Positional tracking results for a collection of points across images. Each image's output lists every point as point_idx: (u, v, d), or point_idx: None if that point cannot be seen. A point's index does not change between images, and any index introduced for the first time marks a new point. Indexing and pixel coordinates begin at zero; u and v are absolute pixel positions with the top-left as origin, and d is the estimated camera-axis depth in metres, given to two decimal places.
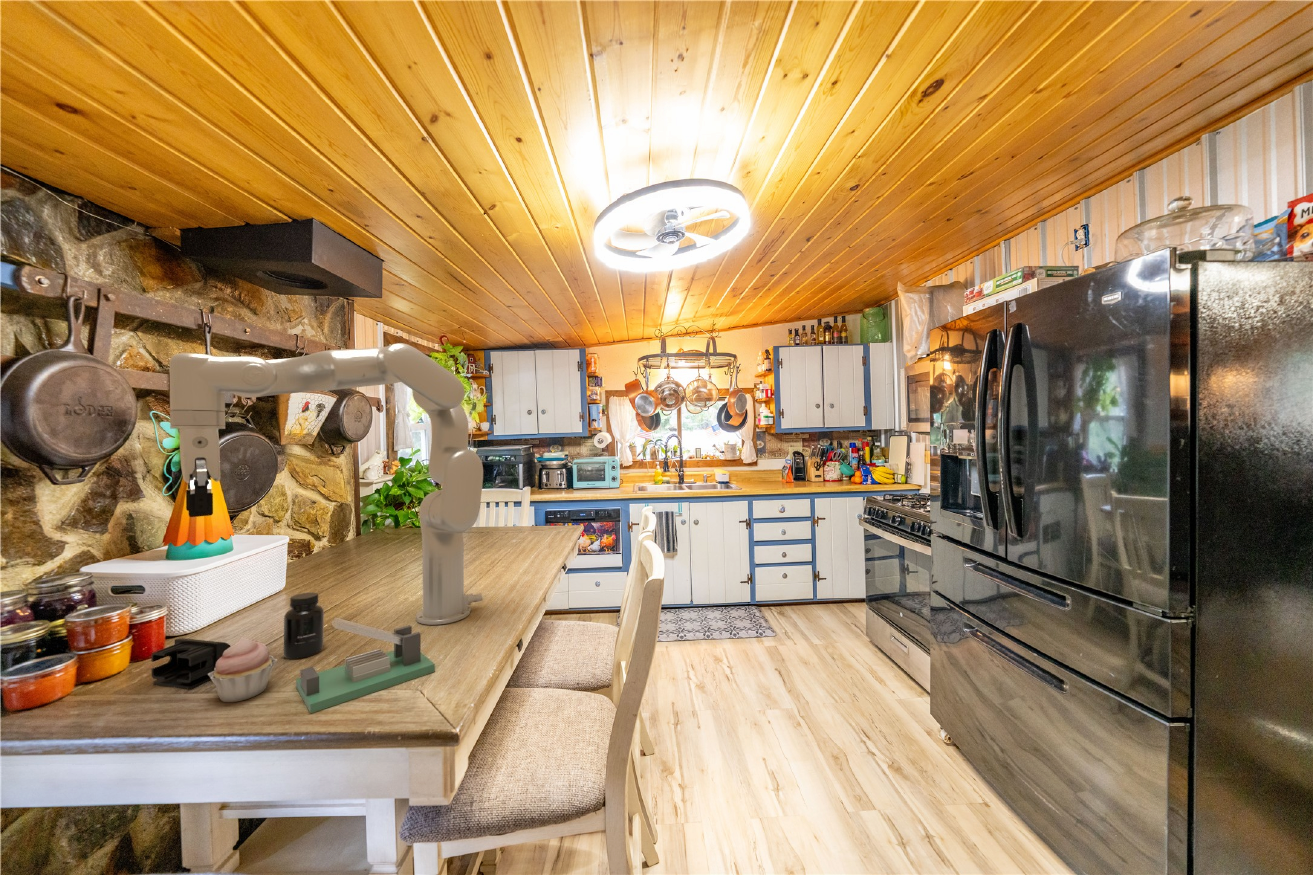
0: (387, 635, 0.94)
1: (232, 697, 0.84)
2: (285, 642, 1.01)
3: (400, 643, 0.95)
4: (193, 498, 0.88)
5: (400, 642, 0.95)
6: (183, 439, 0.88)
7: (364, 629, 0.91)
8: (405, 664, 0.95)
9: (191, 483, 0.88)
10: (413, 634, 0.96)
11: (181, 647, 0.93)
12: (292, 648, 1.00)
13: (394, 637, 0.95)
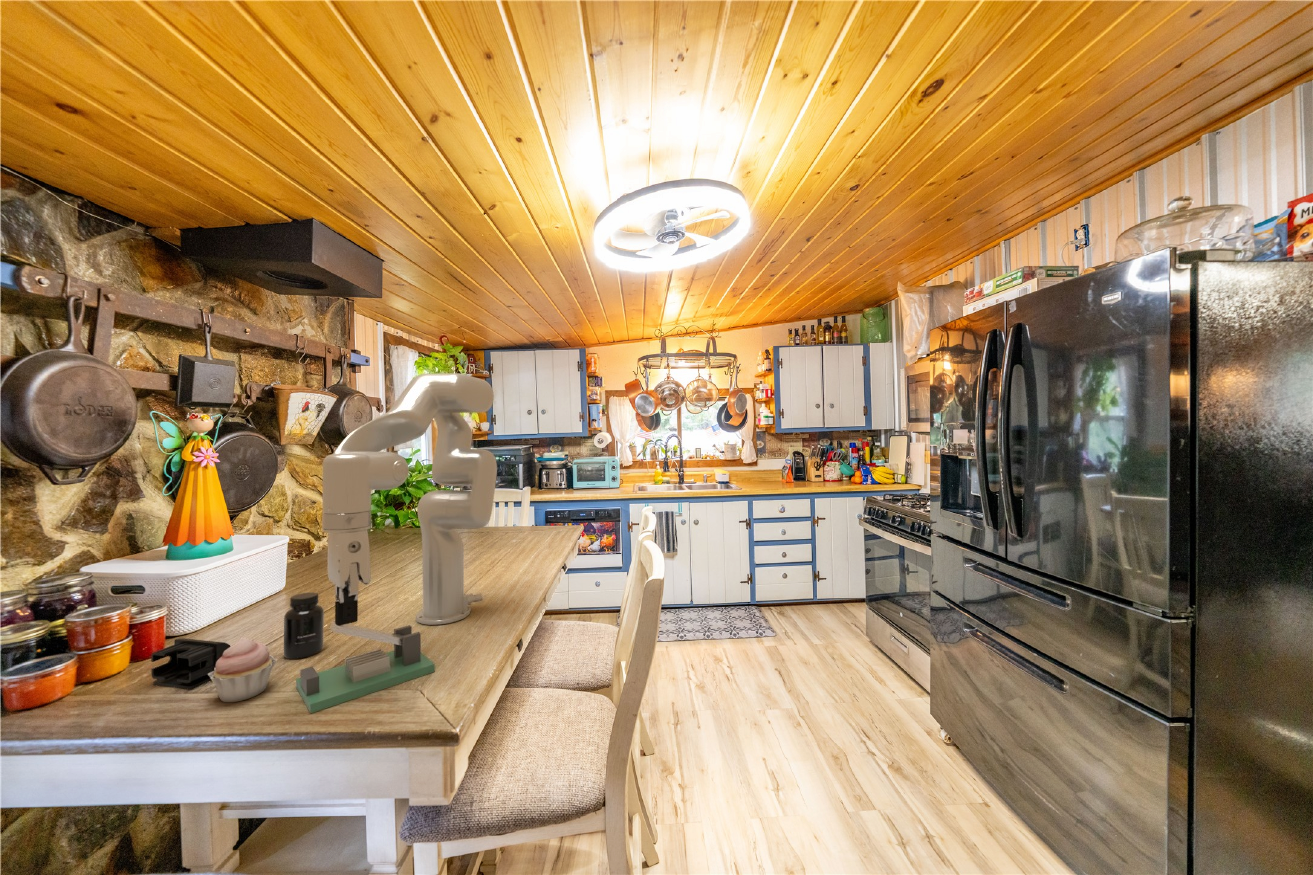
0: (386, 636, 0.94)
1: (232, 697, 0.84)
2: (285, 642, 1.01)
3: (400, 643, 0.95)
4: (341, 606, 0.89)
5: (400, 642, 0.95)
6: (338, 544, 0.86)
7: (363, 631, 0.91)
8: (405, 664, 0.95)
9: (341, 594, 0.88)
10: (413, 634, 0.96)
11: (181, 647, 0.93)
12: (292, 648, 1.00)
13: (393, 638, 0.94)
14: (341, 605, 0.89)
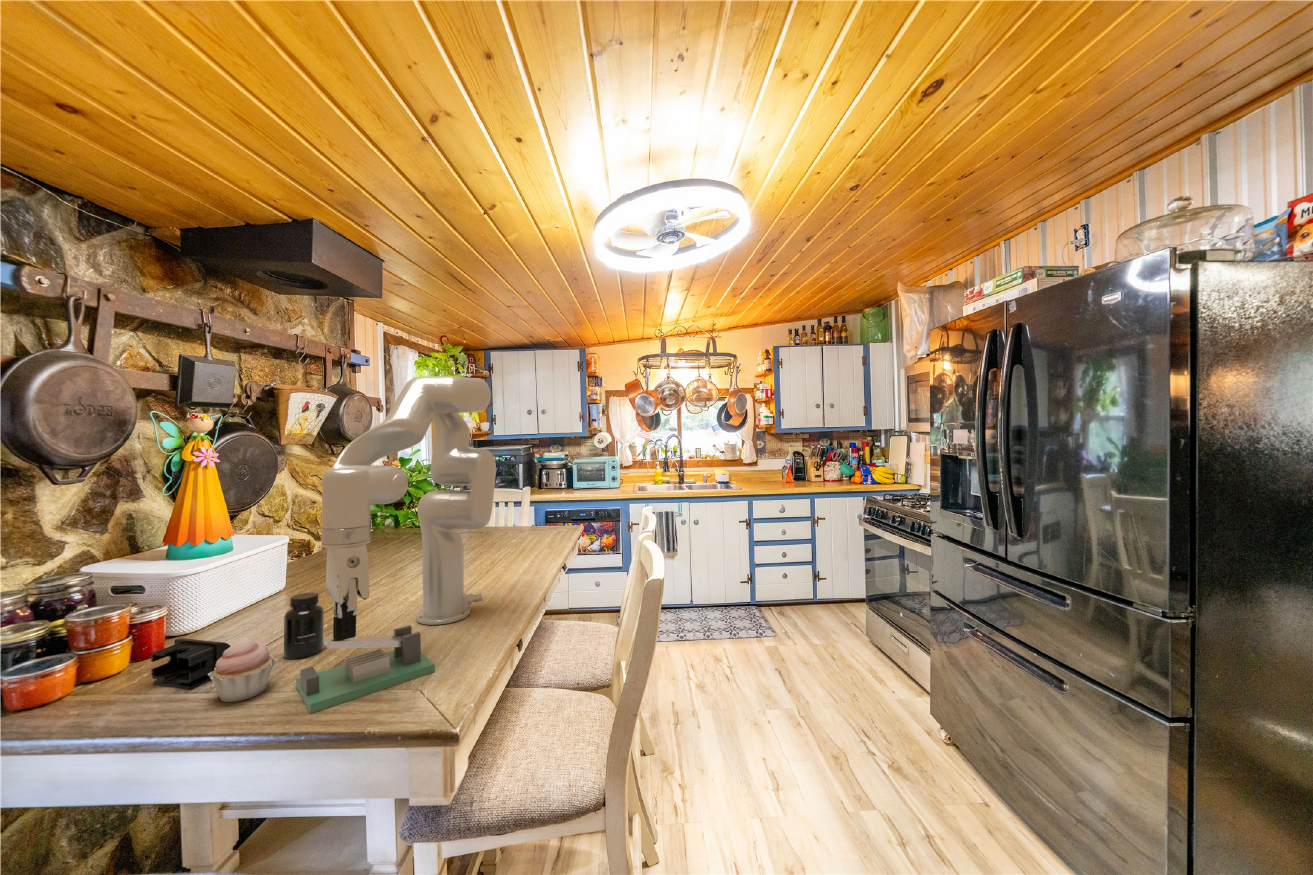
0: (384, 641, 0.93)
1: (232, 697, 0.84)
2: (285, 642, 1.01)
3: (400, 645, 0.95)
4: (339, 622, 0.88)
5: (399, 644, 0.95)
6: (337, 559, 0.86)
7: (358, 642, 0.90)
8: (405, 664, 0.95)
9: (340, 610, 0.87)
10: (413, 634, 0.96)
11: (181, 647, 0.93)
12: (292, 648, 1.00)
13: (392, 641, 0.94)
14: (339, 620, 0.88)
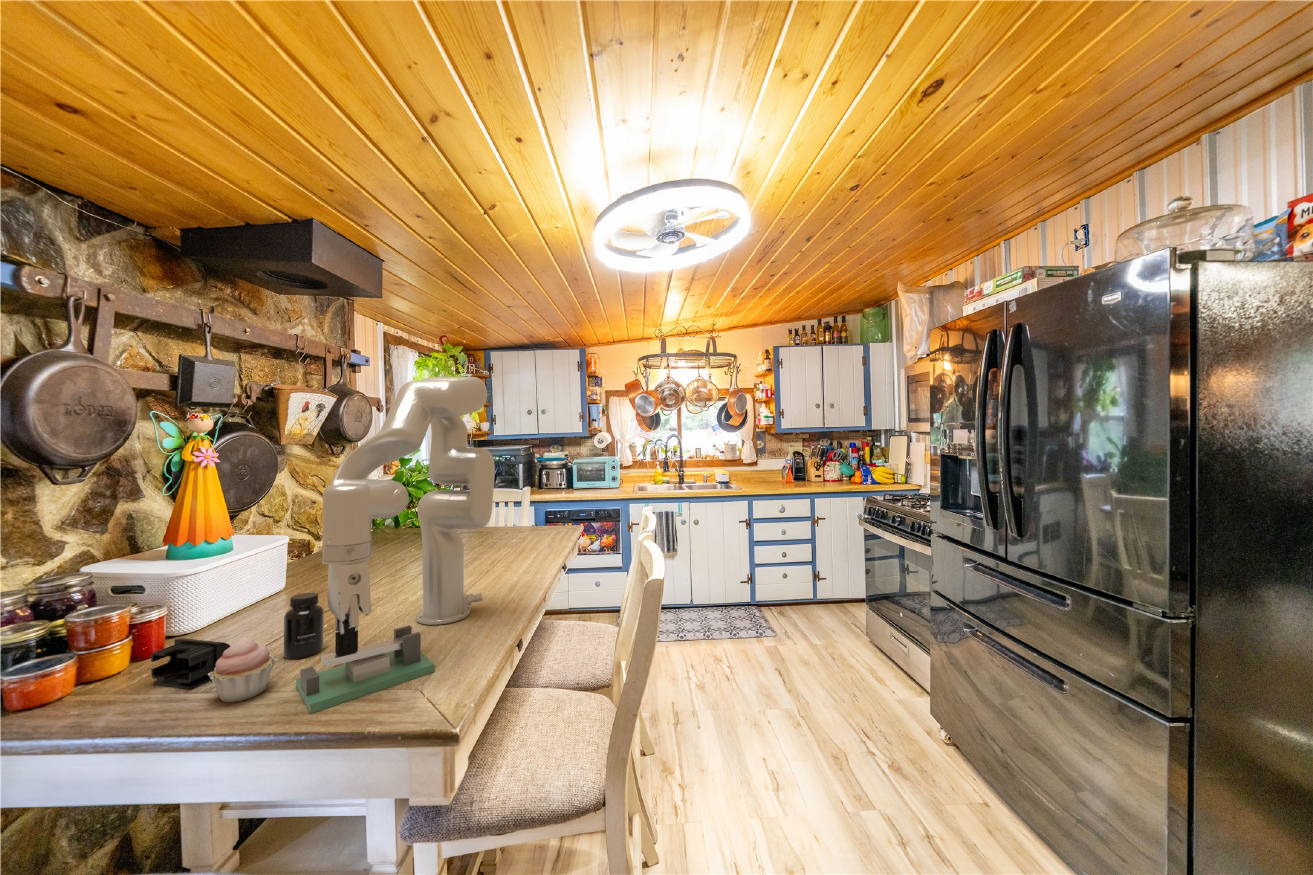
0: (382, 648, 0.93)
1: (232, 697, 0.84)
2: (285, 642, 1.01)
3: (400, 647, 0.95)
4: (341, 637, 0.89)
5: (399, 647, 0.95)
6: (338, 576, 0.86)
7: (355, 654, 0.90)
8: (405, 664, 0.95)
9: (342, 626, 0.88)
10: (413, 634, 0.96)
11: (181, 647, 0.93)
12: (292, 648, 1.00)
13: (391, 646, 0.94)
14: (341, 636, 0.89)
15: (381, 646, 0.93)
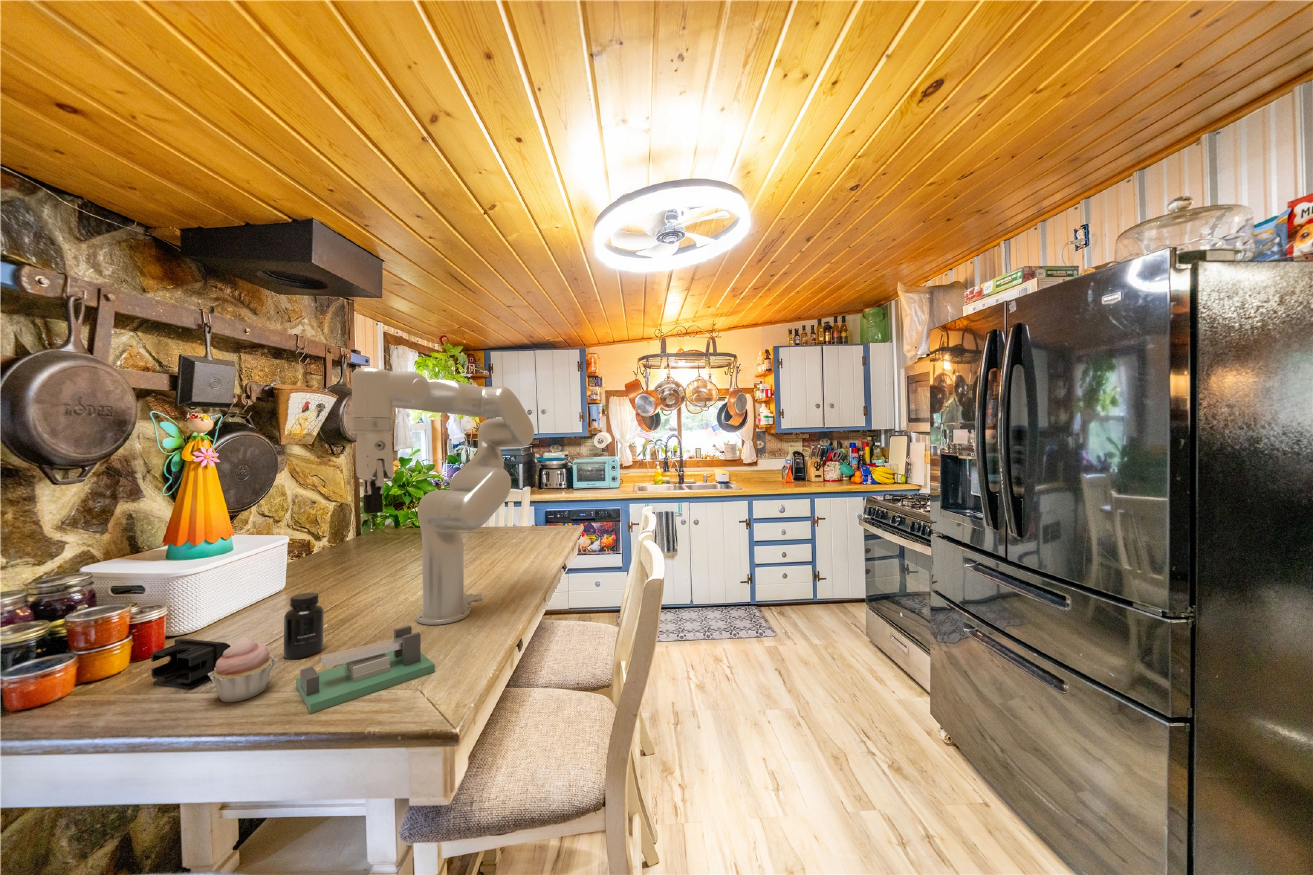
0: (382, 648, 0.93)
1: (232, 697, 0.84)
2: (285, 642, 1.01)
3: (400, 647, 0.95)
4: (369, 498, 1.04)
5: (399, 647, 0.95)
6: (366, 443, 1.02)
7: (355, 654, 0.90)
8: (405, 664, 0.95)
9: (369, 486, 1.03)
10: (413, 634, 0.96)
11: (181, 647, 0.93)
12: (292, 648, 1.00)
13: (391, 646, 0.94)
14: (369, 497, 1.04)
15: (381, 646, 0.93)
